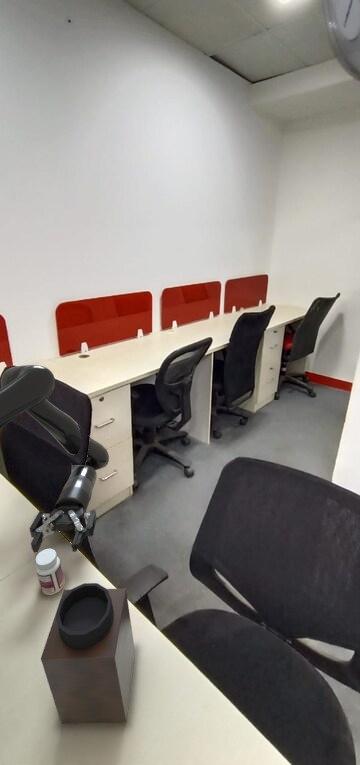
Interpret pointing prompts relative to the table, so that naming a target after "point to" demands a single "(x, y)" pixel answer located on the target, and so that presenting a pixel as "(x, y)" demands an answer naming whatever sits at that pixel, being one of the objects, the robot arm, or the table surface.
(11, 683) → the table surface
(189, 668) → the table surface
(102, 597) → the collar
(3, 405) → the robot arm
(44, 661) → the stand
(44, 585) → the pill bottle
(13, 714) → the table surface
